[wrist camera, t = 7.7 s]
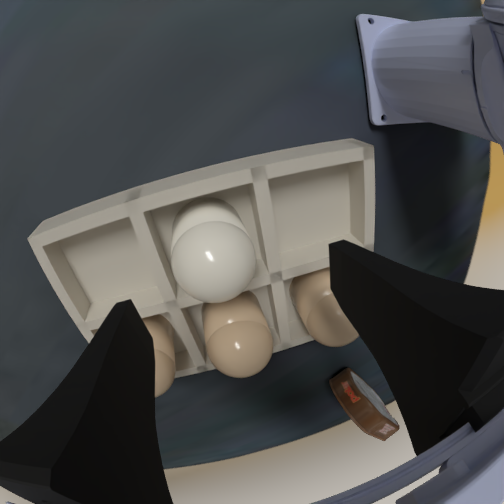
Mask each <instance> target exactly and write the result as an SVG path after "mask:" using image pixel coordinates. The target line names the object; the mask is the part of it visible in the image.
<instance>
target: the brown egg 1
mask: <svg viewBox="0 0 504 504" xmlns="http://www.w3.org/2000/svg"><path fill="white" fill-rule="evenodd" d="M142 320H143V322H144V324H145V325H146V327H147V329H148V331H149V332H150V334H151V336H152V337H153V343H154V352H155V397H158V396H160V395H162V394H163V393H165V392H166V391H167V390H168V389H169V388H170V386H171V385H172V383H173V380H174V378H175V371H176V369H175V350H174V330H173V327H172V325H171V323H170V322H169V321H168V320H167V319H166V318H165V317H164V316H162V315H160V314H157V315H153V316H149V317H145V318H142Z"/></svg>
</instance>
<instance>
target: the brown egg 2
mask: <svg viewBox="0 0 504 504" xmlns="http://www.w3.org/2000/svg"><path fill="white" fill-rule="evenodd" d="M289 294H290V298H291V300H292V302H293V304H294V306H295V308H296V309H297V311H298V313H299V315H300V317H301V319H302V321H303V323H304V325H305V326H306V328H307V330H308V332H309V333H310V335H311V336H312V337H313V338H314V339H315V340H316V341H317V342H319V343H321V344H323V345H326V346H330V347H340V346H344V345H347V344H349V343H351V342H353V341H354V340H355V339H356V338H357V337H358V336H359V334H358V333H357V331H356V330H355V328H354V327H353V326H352V324H351V323H350V321H349V320H348V318H347V317H346V316H345V314H344V313H343V311H342V310H341V308H340V306H339V304H338V302H337V300H336V298H335V297H334V295H333V293H332V291H331V289H330V267H327V268H323V269H320V270H317V271H313V272H310V273H307V274H303V275H300V276H297V277H294V278H293V280H292V282H291V284H290V288H289Z"/></svg>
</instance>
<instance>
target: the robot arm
mask: <svg viewBox="0 0 504 504" xmlns="http://www.w3.org/2000/svg"><path fill="white" fill-rule="evenodd" d="M481 10H482V13H483V15H484V17H457V18H443V19H432V20H424V21H416V22H411V21H406V20H400V19H395V18H389V17H382V16H375V15H367V14H360V15H358V16H357V17H356V24H357V29H358V34H359V40H360V45H361V52H362V58H363V65H364V72H365V79H366V88H367V97H368V107H369V118H370V122H371V123H372V124H374V125H378V126H379V125H391V124H405V123H422V122H431V123H435V124H438V125H442V126H446V127H449V128H453V129H456V130H459V131H463V132H466V133H469V134H472V135H475V136H478V137H481V138H484V139H487V140H490V141H493V142H495V143H498V144H500V145H501V147H502V149H503V152H504V0H485V2H484V4H482V5H481ZM368 19H369V20H370V21H371V24H370V23H369V22H368ZM382 115H383V117H384V119H383V120H381V116H382ZM328 245H329V266H330V289H331V291H332V293H333V295H334V297H335V298H336V300H337V302H338V304H339V306H340V308H341V310H342V311H343V313H344V314H345V316H346V317H347V318H348V320H349V321H350V323H351V324H352V326H353V327H354V328H355V330H356V331H357V333H358V334H359V335H360V337H361V338H362V340H363V341H364V343H365V344H366V345H367V347H368V348H369V350H370V351H371V353H372V354H373V356H374V358H375V359H376V361H377V363H378V365H379V367H380V368H381V370H382V372H383V374H384V376H385V378H386V380H387V382H388V384H389V387H390V389H391V391H392V393H393V395H394V397H395V400H396V402H397V404H398V407H399V409H400V411H401V414H402V417H403V419H404V422H405V424H406V427H407V430H408V433H409V436H410V439H411V442H412V445H413V448H414V451H415V453H416V455H417V457H415V458H413V459H412V460H410V461H408V462H406V463H404V464H403V465H401V466H399V467H397V468H395V469H393V470H391V471H389V472H387V473H385V474H383V475H381V476H379V477H377V478H375V479H373V480H370V481H368V482H366V483H364V484H361V485H359V486H357V487H354V488H352V489H350V490H347V491H345V492H342V493H339V494H337V495H334V496H331V497H329V498H326V499H323V500H320V501H317V502H314V503H311V504H372V503H374V502H376V501H378V500H380V499H382V498H385V497H386V496H389V495H390V494H392V493H394V492H396V491H398V490H400V489H402V488H404V487H406V486H408V485H409V484H411V483H413V482H415V481H416V480H418V479H420V478H422V477H423V476H425V475H426V474H428V473H430V472H431V471H433V470H434V469H436V468H437V467H439V466H441V467H440V469H439V474H438V475H436V476H435V477H433V478H432V479H430V480H429V481H427V482H425V483H424V484H422V485H420V486H419V487H417V488H415V489H414V490H413V491H411V492H410V493H408V494H406V495H405V496H403V497H401V498H399V499H398V500H396V504H501V503H502V502H503V501H504V290H497V289H489V288H482V287H475V286H470V285H466V284H461V283H457V282H452V281H449V280H445V279H441V278H438V277H435V276H432V275H429V274H425V273H423V272H420V271H417V270H414V269H412V268H409V267H407V266H404V265H402V264H399V263H397V262H394V261H392V260H390V259H388V258H385V257H383V256H381V255H379V254H376V253H374V252H372V251H370V250H368V249H365V248H363V247H361V246H359V245H356V244H354V243H352V242H349V241H347V240H344V239H343V240H340V241H336V242H333V243H330V244H328ZM0 486H2V487H3V488H5V489H7V490H9V491H10V492H12V493H14V494H16V495H18V496H20V497H22V498H24V499H26V500H28V501H30V502H32V503H35V504H173V502H172V499H171V496H170V492H169V490H168V486H167V482H166V478H165V474H164V470H163V465H162V461H161V456H160V451H159V445H158V438H157V432H156V423H155V352H154V343H153V337H152V336H151V334H150V332H149V331H148V329H147V327H146V325H145V324H144V322H143V320H142V318H141V316H140V315H139V313H138V311H137V309H136V307H135V305H134V304H133V302H132V300H131V299H129V300H125V301H121V302H117V303H116V304H115V305H114V306H113V308H112V309H111V311H110V312H109V313H108V315H107V317H106V318H105V320H104V321H103V323H102V324H101V326H100V327H99V329H98V330H97V332H96V334H95V335H94V337H93V338H92V340H91V341H90V343H89V345H88V346H87V347H86V349H85V350H84V352H83V353H82V355H81V356H80V358H79V359H78V361H77V362H76V364H75V365H74V367H73V368H72V369H71V371H70V372H69V373H68V375H67V376H66V377H65V379H64V380H63V381H62V382H61V384H60V385H59V386H58V387H57V389H56V390H55V391H54V392H53V393H52V394H51V395H50V396H49V397H48V399H47V400H46V401H45V402H44V403H43V404H42V405H41V406H40V407H39V409H38V410H37V411H36V412H35V413H33V414H32V415H31V416H30V417H29V418H28V419H27V420H26V421H25V422H24V423H23V424H22V425H21V426H19V427H18V428H17V429H16V430H15V431H13V432H12V433H11V434H10V435H8V436H7V437H6V438H4V439H3V440H2V441H1V442H0ZM6 504H14V503H11V502H6Z"/></svg>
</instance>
